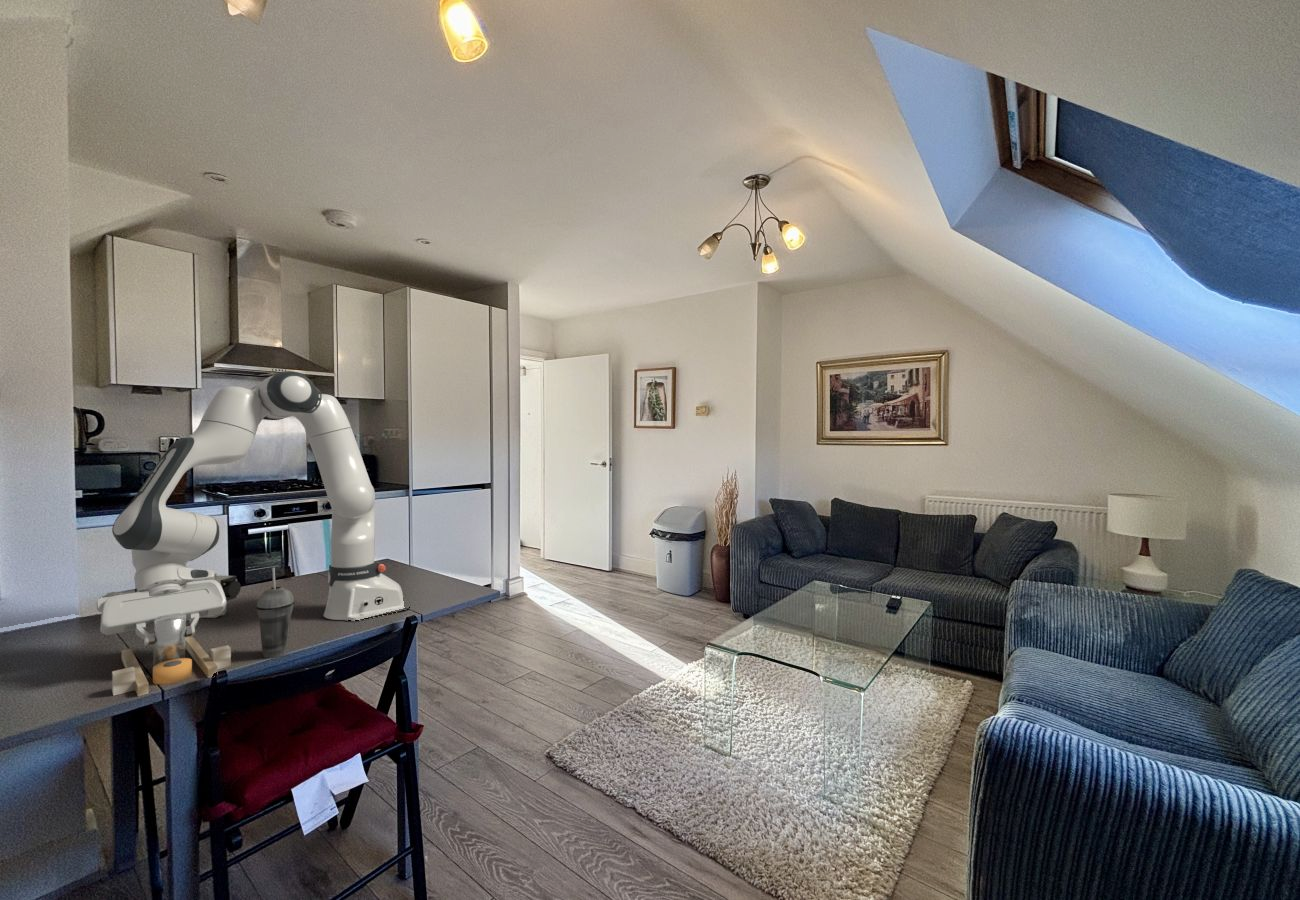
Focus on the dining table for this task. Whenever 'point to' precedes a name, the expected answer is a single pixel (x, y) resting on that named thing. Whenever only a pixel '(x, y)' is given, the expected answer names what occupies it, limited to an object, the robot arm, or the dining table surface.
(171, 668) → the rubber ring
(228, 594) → the pneumatic valve
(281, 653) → the beverage cup
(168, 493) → the robot arm
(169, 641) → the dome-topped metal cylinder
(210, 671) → the guide track
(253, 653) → the dining table surface
